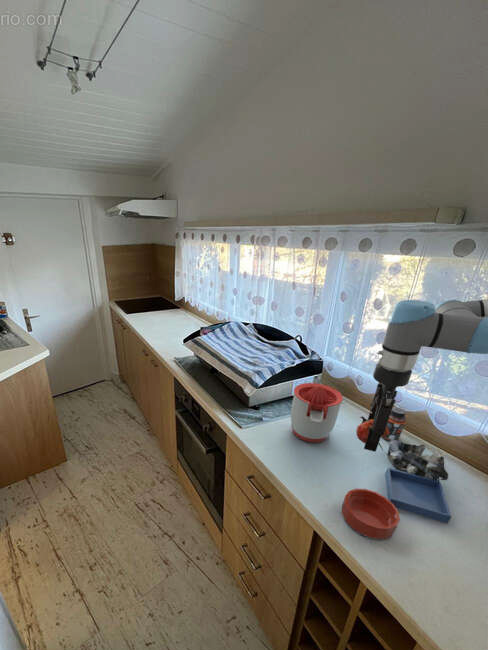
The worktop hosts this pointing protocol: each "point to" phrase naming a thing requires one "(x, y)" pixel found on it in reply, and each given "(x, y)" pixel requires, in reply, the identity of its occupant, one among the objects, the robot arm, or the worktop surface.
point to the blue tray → (417, 495)
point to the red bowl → (370, 513)
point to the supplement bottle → (395, 424)
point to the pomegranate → (363, 430)
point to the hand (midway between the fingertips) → (369, 441)
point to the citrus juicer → (314, 411)
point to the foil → (416, 460)
